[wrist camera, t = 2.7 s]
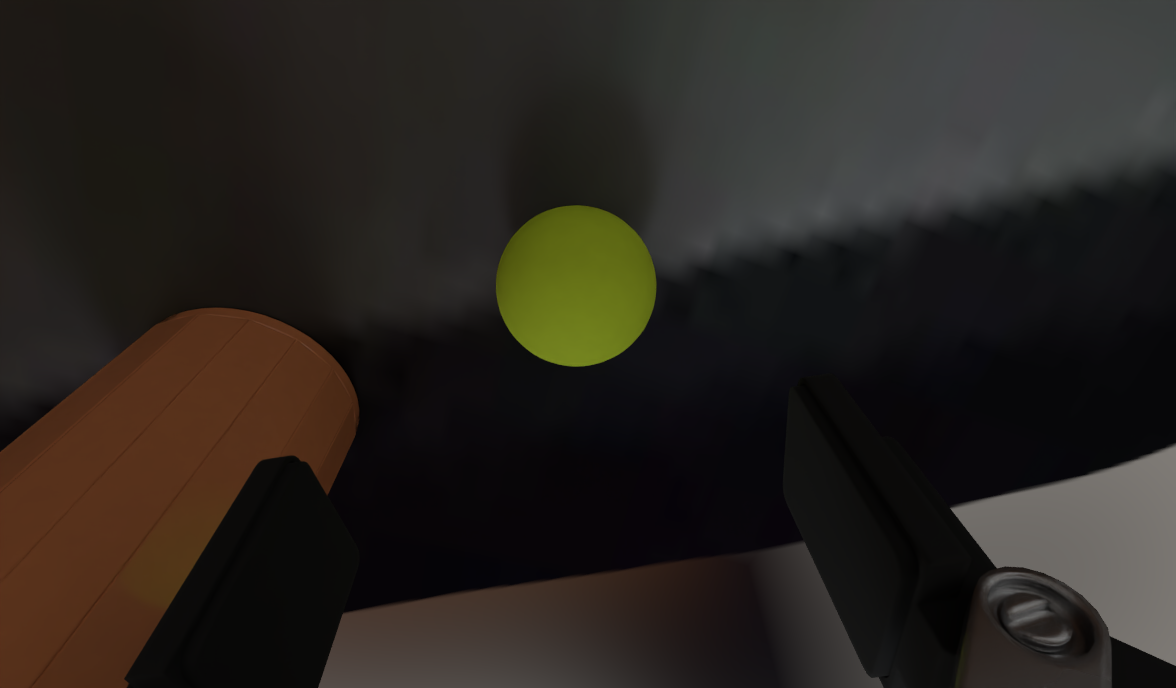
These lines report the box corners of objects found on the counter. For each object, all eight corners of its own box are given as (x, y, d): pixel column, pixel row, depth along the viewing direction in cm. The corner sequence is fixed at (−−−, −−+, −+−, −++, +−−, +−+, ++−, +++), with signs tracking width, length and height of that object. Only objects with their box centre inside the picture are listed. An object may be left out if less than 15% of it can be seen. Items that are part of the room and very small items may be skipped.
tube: (390, 367, 22) (215, 749, 11) (323, 495, 25) (142, 877, 14) (157, 267, 19) (-387, 638, 8) (120, 427, 23) (-287, 829, 12)
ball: (673, 231, 19) (705, 299, 15) (596, 337, 21) (605, 422, 17) (548, 155, 18) (543, 206, 13) (479, 277, 20) (456, 354, 16)
